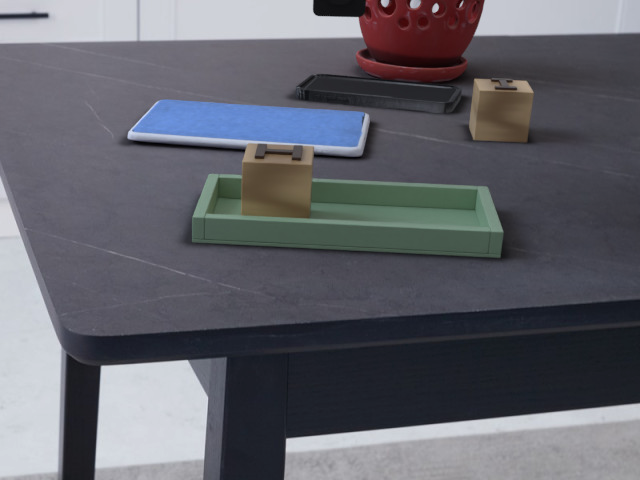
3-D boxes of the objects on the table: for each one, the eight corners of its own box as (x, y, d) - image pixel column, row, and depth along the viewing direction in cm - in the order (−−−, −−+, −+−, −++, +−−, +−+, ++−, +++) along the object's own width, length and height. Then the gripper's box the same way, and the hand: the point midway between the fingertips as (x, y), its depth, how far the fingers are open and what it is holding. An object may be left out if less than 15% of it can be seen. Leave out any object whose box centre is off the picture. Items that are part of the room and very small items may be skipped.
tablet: (370, 124, 103) (371, 109, 102) (361, 163, 92) (362, 146, 91) (158, 112, 105) (157, 97, 105) (124, 148, 94) (124, 132, 94)
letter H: (310, 210, 80) (314, 142, 77) (308, 231, 76) (312, 161, 73) (246, 206, 80) (247, 139, 78) (240, 228, 76) (242, 158, 74)
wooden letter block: (519, 132, 102) (527, 78, 99) (526, 145, 98) (534, 89, 95) (468, 130, 102) (474, 76, 100) (473, 143, 98) (479, 87, 96)
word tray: (484, 213, 81) (487, 186, 80) (499, 262, 73) (504, 231, 72) (208, 200, 83) (208, 173, 82) (191, 246, 74) (191, 216, 73)
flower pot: (403, 95, 113) (414, -34, 108) (327, 69, 123) (334, -50, 118) (503, 82, 119) (519, -40, 114) (423, 59, 129) (434, -55, 124)
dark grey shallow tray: (314, 72, 116) (463, 85, 112) (313, 84, 116) (462, 97, 112) (292, 89, 109) (451, 103, 105) (292, 101, 110) (450, 115, 106)
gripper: (429, -316, 59) (403, 28, 67) (409, -293, 75) (389, -15, 83) (284, -317, 60) (275, 25, 68) (293, -294, 75) (285, -17, 83)
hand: (338, 3), depth 75 cm, fingers open, 9 cm apart
